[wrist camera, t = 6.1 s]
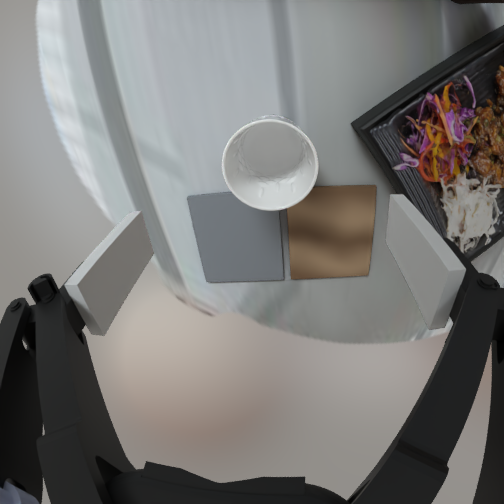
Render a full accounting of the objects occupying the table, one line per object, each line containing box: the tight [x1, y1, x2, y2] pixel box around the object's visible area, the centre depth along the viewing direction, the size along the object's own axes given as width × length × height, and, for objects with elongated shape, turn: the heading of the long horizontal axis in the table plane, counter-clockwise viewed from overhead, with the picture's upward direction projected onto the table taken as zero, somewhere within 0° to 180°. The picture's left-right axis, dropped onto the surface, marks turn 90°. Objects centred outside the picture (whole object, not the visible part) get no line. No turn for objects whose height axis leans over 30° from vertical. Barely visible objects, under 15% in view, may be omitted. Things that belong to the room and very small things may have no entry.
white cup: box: [222, 115, 319, 211], centre depth 27 cm, size 8×8×10 cm
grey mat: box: [187, 192, 284, 282], centre depth 38 cm, size 13×11×1 cm
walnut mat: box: [287, 185, 377, 279], centre depth 37 cm, size 13×11×1 cm
